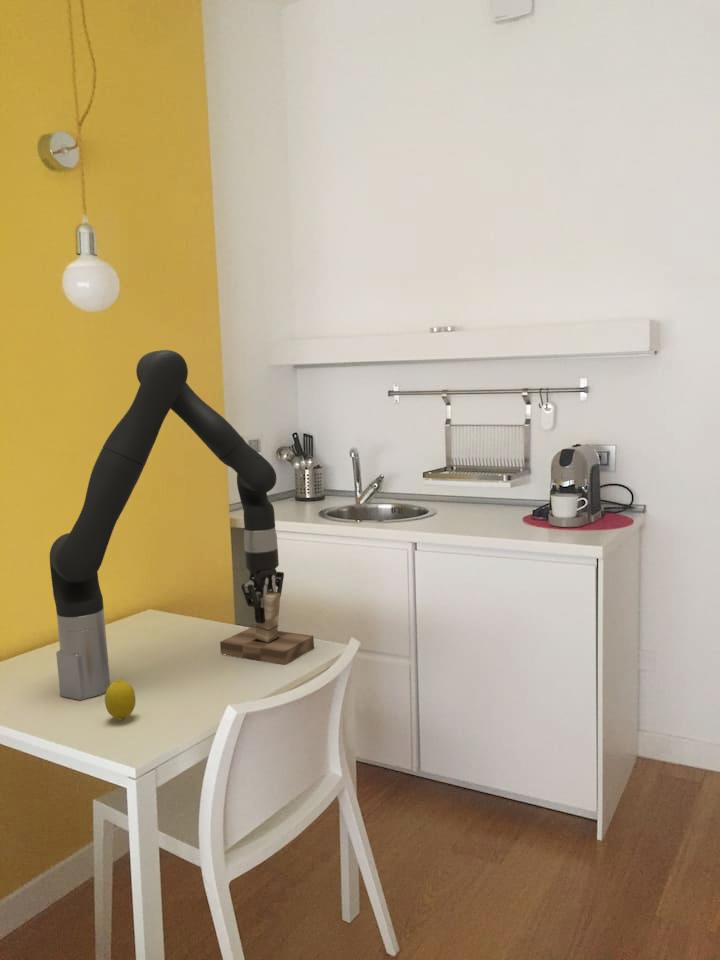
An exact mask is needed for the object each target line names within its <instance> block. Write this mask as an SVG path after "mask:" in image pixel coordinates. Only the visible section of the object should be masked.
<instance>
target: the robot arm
mask: <svg viewBox="0 0 720 960" xmlns="http://www.w3.org/2000/svg"><path fill="white" fill-rule="evenodd" d="M135 369H136V371H135V373H136V377H137V380H138V383H139V387H138V390H137V392H136V394H135V396H134V399H133V402H132V403H131V405H130V407H129V409H127V411H126V412H125V414H124V415H123V417H122V418H121V419H120V421H118V423H117V424H116V426H115V427H114V428H113V430H112V431H111V433H109V435H108V437H107V439H106V440H105V442H104V444H103V445H102V448H101V450H100V452H99V454H98V456H97V458H96V461H95V462H94V465H93V467H92V470H91V473H90V476H89V480H88V485H87V489H86V493H85V498H84V502H83V506H82V509H81V511H80V514H79V515H78V518H77V519H76V521H75V523H74V525H73V527H72V529H71V531H70V532H68V533H64V534H61V535H60V536H59V537H57V539H55V541H54V542H53V543H52V545H51V547H50V552H49V567H50V568H49V569H50V578H51V585H52V595H53V599H54V602H55V603H54V604H55V609H56V611H55V612H56V619H57V631H58V639H59V642H58V643H59V650H57V651H56V663H57V664H56V665H57V675H58V676H57V677H58V683H59V685H58V686H59V696H61V697H63V698H64V697H65V698H69V699H74V700H78V701H82V700H85V699H88V698H92V697H93V698H94V697H97V696H100V695H103V694H106V691H107V689H108V687H109V686H110V685H111V677H110V667H109V654H108V641H107V631H106V620H105V610H104V609H105V608H104V599H103V593H102V590H101V586H100V583H99V582H100V581H99V576H98V575H99V573H98V571H99V570H100V568H101V566H102V564H103V560H104V557H105V554H106V552H107V548H108V545H109V542H110V540H111V537H112V534H113V531H114V529H115V526H116V524H117V521H118V519H120V516H121V514H122V513H123V510H124V509H125V506H126V505H127V503H128V501H129V500H130V498H131V495H132V493H133V491H134V488H135V487H136V485H137V483H138V481H139V478H140V477H141V475H142V472H143V471H144V469H145V466H146V464H147V461H148V459H149V456H150V454H151V452H152V449H153V447H154V445H155V443H156V440H157V438H158V436H159V432H160V430H161V427H162V425H163V424H164V422H165V419H166V417H167V415H168V414H169V412H170V411H171V410H172V411H173V412H174V414H176V415H177V416H178V417H179V418H180V419H181V420H182V421H183V422H184V423H185V424H186V425H187V426H188V427H189V428H190V429H191V431H193V432H194V434H195V435H196V437H198V438H199V439H200V441H201V442H203V444H205V445H206V447H207V448H208V449H209V450H210V451H211V452H212V453H213V455H215V456H216V457H217V459H218V460H219V461H220V462H222V463H223V464H224V465H225V466H228V468H229V467H230V468H231V469H233V471H235V473H237V474H236V486H237V490H238V491H237V492H238V495H239V499H240V502H241V506H242V510H243V525H244V526H243V527H244V536H243V543H244V556H245V557H244V559H245V567H246V569H247V570H248V571H249V577H248V580H249V581H248V582H246V583H242V584H241V590H242V592H243V593H242V594H243V596H244V598H245V599H244V600H245V601H246V603H247V606H248V607H252V608H254V609H253V610H254V620H255V622H257V623H264V622H265V612H264V597H265V596H266V595H267V590H269V591H272V592H277V593H281V594H280V598H281V597H282V593H283V592H282V591H283V584H284V577H285V573H284V572H282V571H277V568H278V567H279V565H280V564H279V550H278V549H279V548H278V536H277V530H276V520H275V519H276V517H275V509H274V505H273V504H272V503H271V502H270V500H269V498H268V494H267V493H268V492H271V490H273V488H275V485H276V484H277V473H276V471H275V469H274V467H273V466H272V464H271V463H270V462H269V461H268V460H267V459H266V458H264V457H263V456H262V454H260V453H259V452H257V450H256V449H254V448H253V447H252V446H250V445H249V443H247V441H245V439H244V438H243V437H242V435H240V433H239V431H237V430H236V429H235V428H234V427H233V426H232V424H231V423H229V421H228V420H226V418H224V416H222V414H220V413H218V411H216V410H214V409H213V407H211V406H210V405H209V404H207V403H206V402H205V401H204V400H203V399H202V398H201V397H200V396H199V395H198V394H197V393H195V392H194V390H193V389H192V388H191V386H190V385H189V384H188V382H187V380H188V376H189V373H188V372H189V371H188V365H187V362H186V360H185V359H184V356H183V355H181V354H180V353H178V352H176V351H174V350H170V349H161V350H154V351H151V352H150V351H149V352H147V353H146V354H144V355H142V356H141V358H139V360H138V363H137V364H136V368H135ZM261 592H262V593H261ZM259 593H261V594H259ZM258 597H259V598H260V602H259V601H258Z"/></svg>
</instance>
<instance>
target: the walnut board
mask: <svg viewBox="0 0 720 960" xmlns="http://www.w3.org/2000/svg"><path fill="white" fill-rule="evenodd" d="M255 635H256V627H253V626H251V627H249V628H247V629H244V630H243V631H240V632H239V633H237V634H235V635H234V634H233V635H232V636H230V637H227V638H226V639H224V640H221V641H219V642H220V643H219V644H220V654H221V653H222V654H226V655H225V656H227V655H231V656H230V657H233V656H236V657H235V658H239V657H241V658H240V659H245V658H246V659H247V660H253V661H260V662H264V663H271V664H277V665H282V666H285V665H287V664H289V663H291V662H293V661H294V660H296V659H298V658H300V657H301V656H303V655H305V654H306V653H308V652H310V651H312V650H314V649H315V642H314V641H315V639H314V635H310V634H303V633H294V632H288V631H280V630H278V631H277V638H276V639H274V640H272V641H270V642H265V641H262V640H259V639H256V638H255ZM246 659H245V660H246Z"/></svg>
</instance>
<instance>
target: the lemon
mask: <svg viewBox="0 0 720 960" xmlns="http://www.w3.org/2000/svg"><path fill="white" fill-rule="evenodd" d="M104 705H105V709H106V711H107V713H108V715H110V716H111V717H112V718H115V719H118V720H120V721H123V720H125V719H126V717H129V715H131V714H132V712H133V710H134V709H135V706H136V693H135V690H134V688H133V686H132V685H131V684H130V683H129V682H127V681H125V680H122V679H116V680H115V681H113V682H112V683H110V686H109V687H108V689H107V691H106V692H105V697H104Z"/></svg>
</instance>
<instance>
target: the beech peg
mask: <svg viewBox="0 0 720 960" xmlns="http://www.w3.org/2000/svg"><path fill="white" fill-rule="evenodd" d="M258 593H259V594H261V593H262V592H258ZM280 594H281V595H282V592H281V593H277V591H276V592H272V591H269V590H267V595H266V596H265V597H264V612H265V622H264V623H257V622H256V621H255V622H256V623H255V624H256V625H255V628H256V635H255V638H256V639H259V640H262V641H265V642H270V641H272V640H274V639H276V638H277V631H279V630H278V629H279V619H280V617H279V616H280V603H281V597H280ZM258 601H259V602H260V598H259V597H258Z"/></svg>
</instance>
